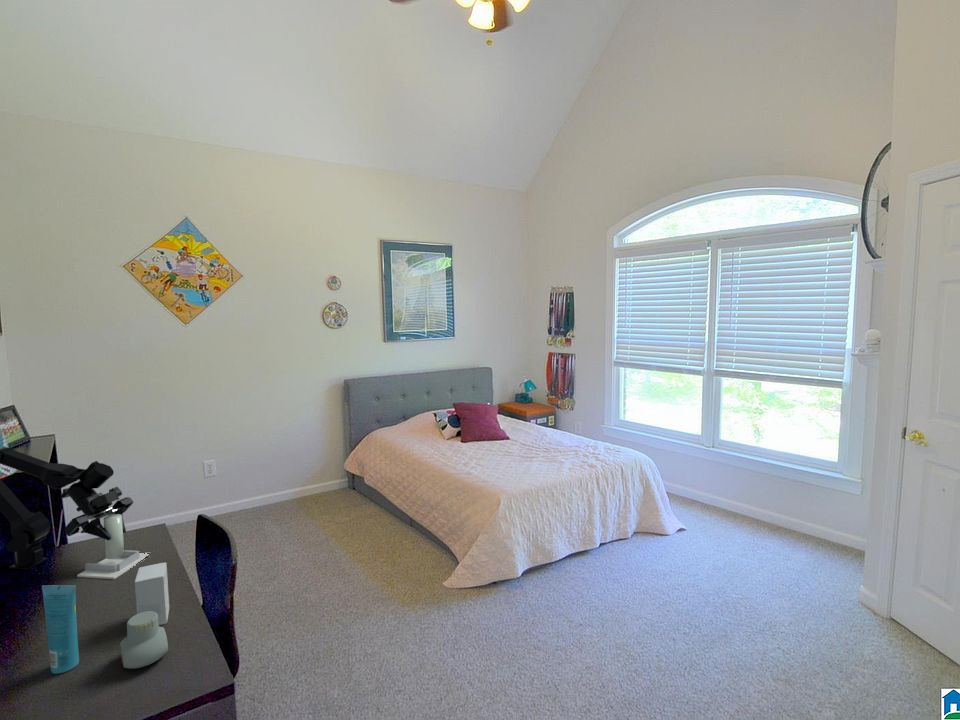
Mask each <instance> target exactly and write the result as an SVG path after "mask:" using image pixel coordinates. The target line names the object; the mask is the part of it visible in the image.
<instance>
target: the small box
mask: <svg viewBox="0 0 960 720" xmlns="http://www.w3.org/2000/svg"><path fill="white" fill-rule="evenodd" d="M167 565H168V564H167V562H159V563H156V564H150V565H145V566H140V567H138V569H137V571H136V577H135V579H134V581H133V582H134V590H135V591H134V592H135V606H136V608H135V609H136V614H139V613H142V612H146V611H153V612H156V613H157V614H158V626H159V627H160V626H161V625H166V624H167V623H168V620H169V612H170V600H169V599H170V597H169V583H168V582H169V581H168V568H167Z"/></svg>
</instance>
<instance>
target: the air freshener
mask: <svg viewBox="0 0 960 720" xmlns="http://www.w3.org/2000/svg"><path fill="white" fill-rule="evenodd" d="M126 631H127V633H126V634H127V636H126V637H125V638H123V639H122V640H121V642H119V644H120V646H119V647H120V654H121V661H122V665H123V668H124V669H130V670H131V669H139V668H144V667H147V666H149V665H151V664H154V663H155V662H157V661H159V660H160V659H161V658H162V657H164V656H165V655H166V653H168V651H169V643H168V642H169V641H168V637H167V633H166V630H165V628H164V627H163V626H160V625H159V626H158V614H157V613H156V612H153V611H146V612H142V613H139V614H137V613H136V614H134V615H133V616H131V617H130V618H129V619H128V620H127V622H126Z"/></svg>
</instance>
